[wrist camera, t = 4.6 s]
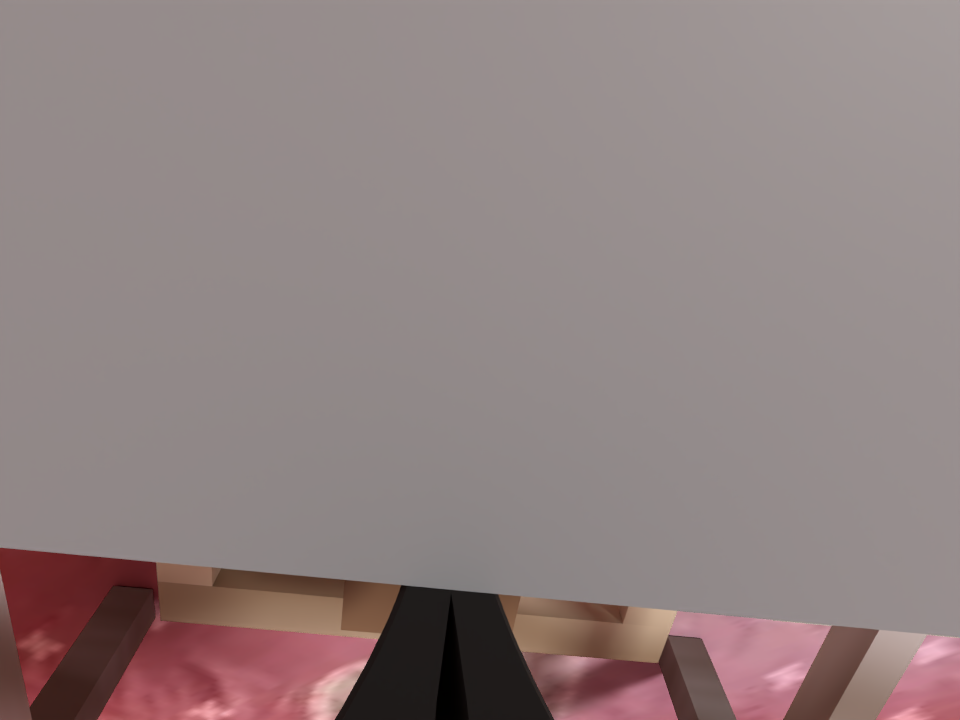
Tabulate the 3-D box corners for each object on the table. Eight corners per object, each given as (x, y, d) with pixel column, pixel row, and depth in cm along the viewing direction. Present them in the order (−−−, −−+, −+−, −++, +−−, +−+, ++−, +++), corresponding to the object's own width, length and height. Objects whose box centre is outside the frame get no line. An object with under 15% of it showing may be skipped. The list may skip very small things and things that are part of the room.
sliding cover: (974, 588, 11) (1029, 643, 10) (-158, 474, 10) (-237, 525, 8) (1526, -294, 6) (1745, -370, 5) (-577, -828, 5) (-885, -1097, 4)
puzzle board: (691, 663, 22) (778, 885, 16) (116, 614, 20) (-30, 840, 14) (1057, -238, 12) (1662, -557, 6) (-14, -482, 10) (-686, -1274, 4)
